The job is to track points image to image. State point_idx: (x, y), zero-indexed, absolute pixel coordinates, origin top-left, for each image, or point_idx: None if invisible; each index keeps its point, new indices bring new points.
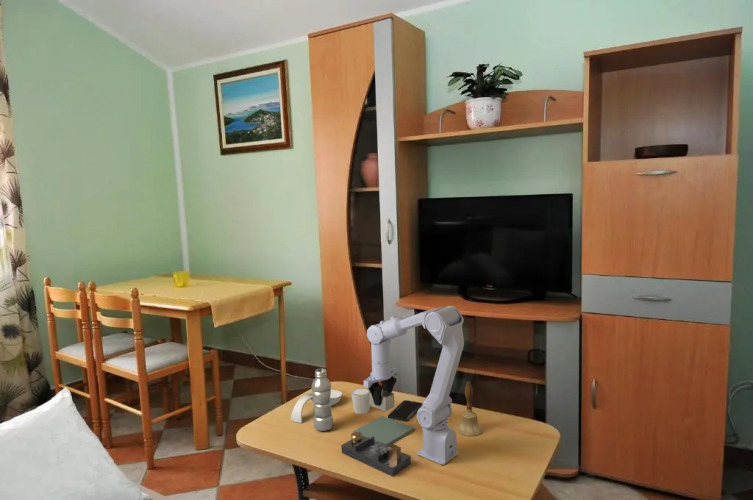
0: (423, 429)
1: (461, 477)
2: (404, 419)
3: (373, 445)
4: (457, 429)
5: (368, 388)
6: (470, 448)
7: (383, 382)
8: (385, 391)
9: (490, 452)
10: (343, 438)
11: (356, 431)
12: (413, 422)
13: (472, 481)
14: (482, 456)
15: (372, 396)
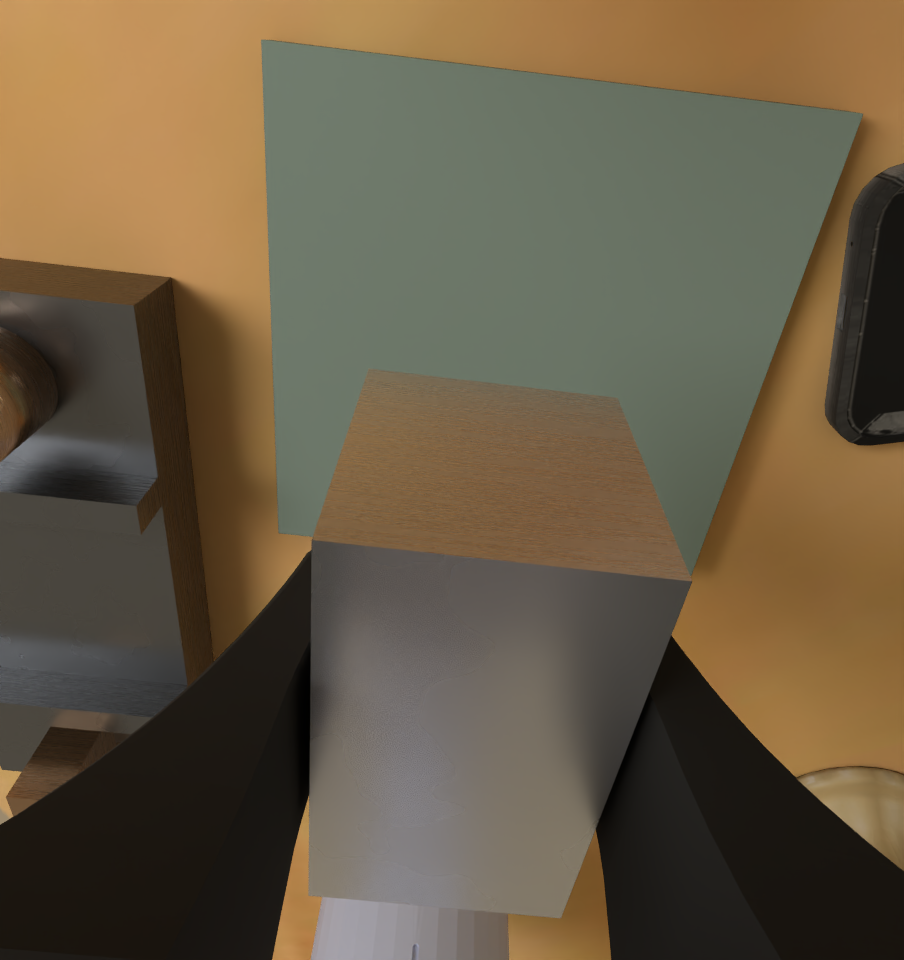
0: (322, 957)
1: (303, 913)
2: (841, 416)
3: (94, 540)
4: (803, 783)
5: (17, 828)
6: (592, 876)
7: (705, 954)
8: (576, 791)
9: (599, 935)
10: (83, 9)
11: (277, 92)
12: (838, 485)
13: (307, 942)
14: (540, 923)
15: (232, 656)
